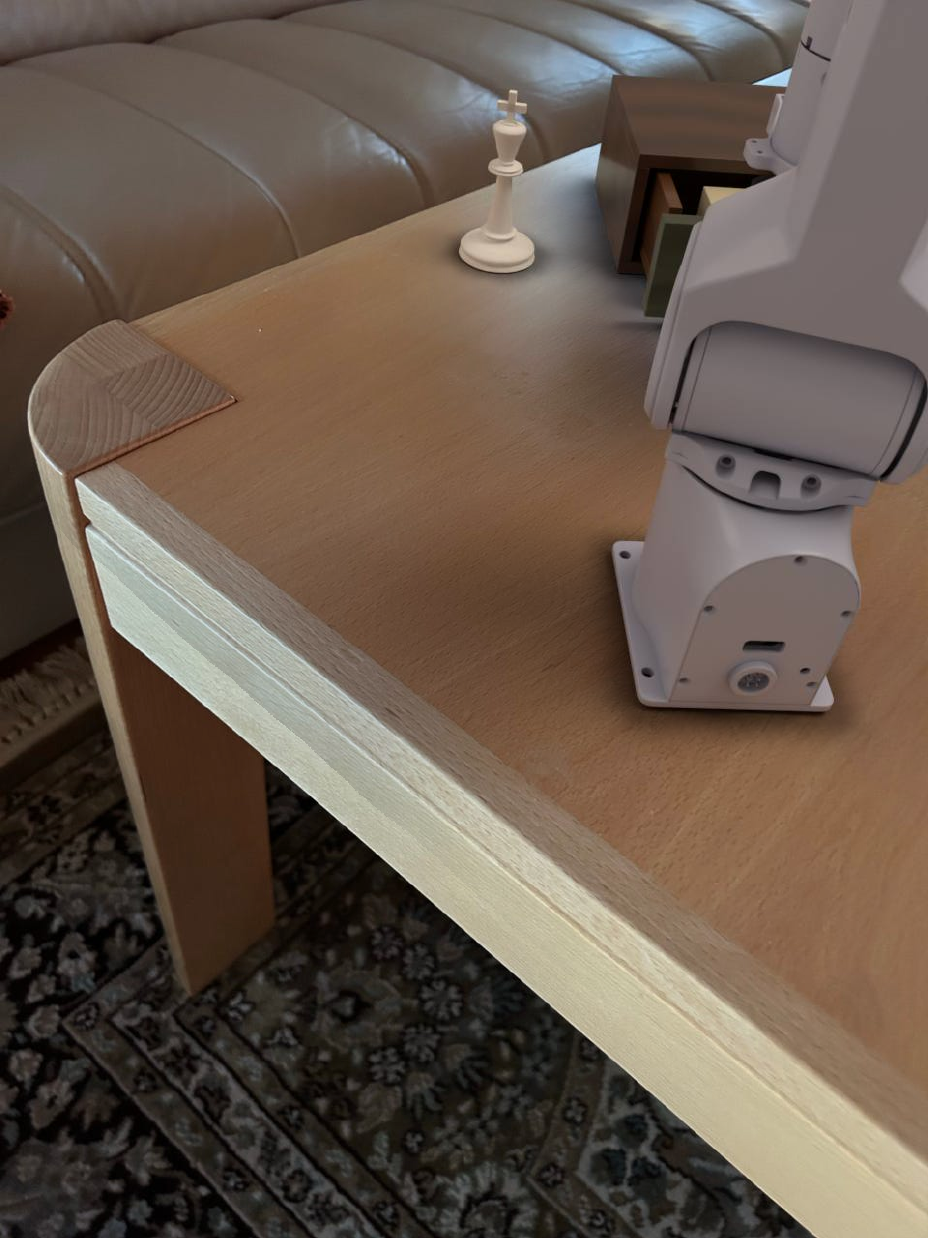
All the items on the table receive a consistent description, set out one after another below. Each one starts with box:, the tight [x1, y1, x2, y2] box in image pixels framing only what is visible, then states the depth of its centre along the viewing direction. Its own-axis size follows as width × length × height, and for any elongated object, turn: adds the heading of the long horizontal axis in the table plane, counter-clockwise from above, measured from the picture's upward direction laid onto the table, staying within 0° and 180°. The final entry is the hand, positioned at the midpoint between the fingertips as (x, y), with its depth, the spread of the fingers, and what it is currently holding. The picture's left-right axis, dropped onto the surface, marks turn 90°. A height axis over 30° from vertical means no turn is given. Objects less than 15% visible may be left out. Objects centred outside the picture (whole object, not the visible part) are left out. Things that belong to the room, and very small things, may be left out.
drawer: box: [636, 168, 772, 319], centre depth 61 cm, size 17×11×6 cm
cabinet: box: [594, 74, 787, 275], centre depth 68 cm, size 13×13×8 cm
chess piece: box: [458, 89, 536, 274], centre depth 63 cm, size 5×5×10 cm
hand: (775, 325), depth 55 cm, fingers closed
